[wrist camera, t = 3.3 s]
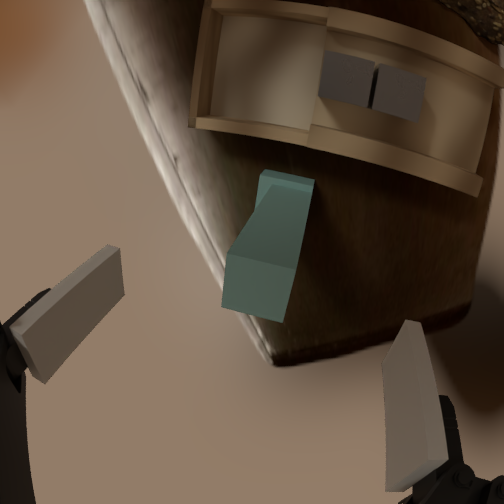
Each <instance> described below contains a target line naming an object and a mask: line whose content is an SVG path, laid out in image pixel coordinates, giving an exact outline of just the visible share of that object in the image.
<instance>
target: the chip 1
mask: <svg viewBox="0 0 504 504" xmlns="http://www.w3.org/2000/svg"><path fill="white" fill-rule="evenodd" d="M374 66H375V62H374V61H371V60H367V59H363V58H359V57H355V56H351V55H346V54H342V53H337V52H333V51H328V50H325V54H324V60H323V67H322V73H321V79H320V85H319V91H318V97H322V98H327V99H331V100H336V101H340V102H344V103H349V104H353V105H357V106H361V107H365V108H367V105H368V100H369V95H370V89H371V84H372V78H373V72H374Z"/></svg>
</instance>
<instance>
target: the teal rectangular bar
mask: <svg viewBox="0 0 504 504" xmlns="http://www.w3.org/2000/svg"><path fill="white" fill-rule="evenodd" d="M314 181H315V180H314V179H310V178H305V177H301V176H296V175H292V174H287V173H282V172H277V171H272V170H267V169H265V170H264V171H263V172H262V173H261V174H260V179H259V185H258V192H257V199H256V205H255V211H254V212H253V214H252V215H251V217H250V219H249V220H248V222H247V223H246V225H245V226H244V228H243V229H242V231H241V232H240V234H239V235H238V237H237V238H236V240H235V242H234V243H233V245H232V246H231V248H230V249H229V251H228V252H227V257H226V267H225V276H224V286H223V296H222V306H221V307H223V308H227V309H231V310H234V311H238V312H242V313H246V314H249V315H253V316H257V317H261V318H265V319H269V320H273V321H277V322H281V323H283V319H284V315H285V311H286V308H287V304H288V300H289V296H290V292H291V288H292V284H293V280H294V276H295V272H296V268H297V263H298V259H299V254H300V250H301V245H302V240H303V235H304V231H305V226H306V221H307V216H308V211H309V206H310V201H311V196H312V191H313V186H314Z"/></svg>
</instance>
